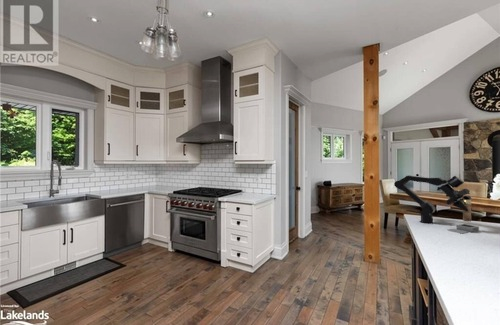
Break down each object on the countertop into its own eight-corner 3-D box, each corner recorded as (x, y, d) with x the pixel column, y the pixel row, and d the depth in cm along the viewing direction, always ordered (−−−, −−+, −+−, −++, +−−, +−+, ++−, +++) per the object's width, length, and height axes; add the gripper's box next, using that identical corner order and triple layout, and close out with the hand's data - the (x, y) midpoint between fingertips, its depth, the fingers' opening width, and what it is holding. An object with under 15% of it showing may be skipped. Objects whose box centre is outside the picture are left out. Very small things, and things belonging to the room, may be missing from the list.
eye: (456, 229, 153) (456, 224, 153) (463, 227, 155) (463, 223, 155) (471, 232, 145) (471, 228, 145) (478, 231, 148) (478, 226, 148)
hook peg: (461, 220, 151) (461, 199, 151) (465, 219, 153) (464, 199, 153) (469, 221, 148) (468, 200, 148) (472, 221, 149) (472, 200, 149)
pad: (447, 230, 151) (447, 229, 151) (453, 229, 153) (453, 228, 153) (461, 233, 143) (461, 233, 143) (468, 232, 146) (468, 231, 146)
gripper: (450, 185, 151) (471, 204, 140) (467, 184, 157) (489, 202, 146) (437, 195, 158) (456, 214, 148) (454, 193, 164) (473, 212, 154)
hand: (469, 210), depth 149 cm, fingers closed on hook peg, 4 cm apart
